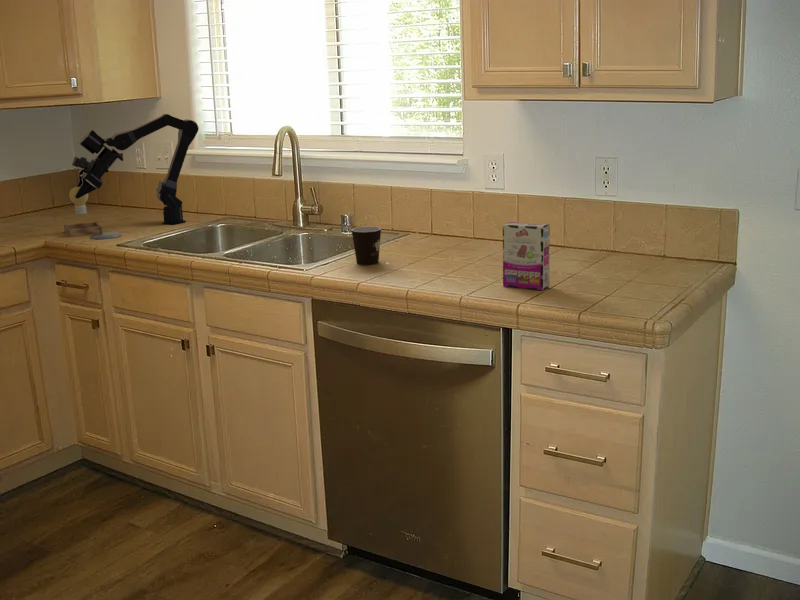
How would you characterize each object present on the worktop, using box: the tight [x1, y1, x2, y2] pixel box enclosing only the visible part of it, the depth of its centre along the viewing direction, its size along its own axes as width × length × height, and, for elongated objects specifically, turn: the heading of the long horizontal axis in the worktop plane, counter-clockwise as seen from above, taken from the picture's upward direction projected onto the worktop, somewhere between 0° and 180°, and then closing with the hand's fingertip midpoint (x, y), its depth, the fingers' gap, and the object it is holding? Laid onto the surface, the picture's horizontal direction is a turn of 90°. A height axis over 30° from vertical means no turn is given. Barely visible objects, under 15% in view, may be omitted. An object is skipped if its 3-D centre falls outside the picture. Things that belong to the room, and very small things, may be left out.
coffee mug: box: [351, 225, 382, 266], centre depth 265 cm, size 12×9×10 cm
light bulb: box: [68, 186, 89, 216], centre depth 324 cm, size 6×6×10 cm
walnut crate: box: [63, 221, 103, 237], centre depth 327 cm, size 12×12×2 cm
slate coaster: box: [91, 231, 122, 240], centre depth 319 cm, size 10×10×1 cm
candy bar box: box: [502, 221, 551, 291], centre depth 231 cm, size 11×5×16 cm, turn 59°
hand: (75, 196), depth 323 cm, fingers closed on light bulb, 6 cm apart
